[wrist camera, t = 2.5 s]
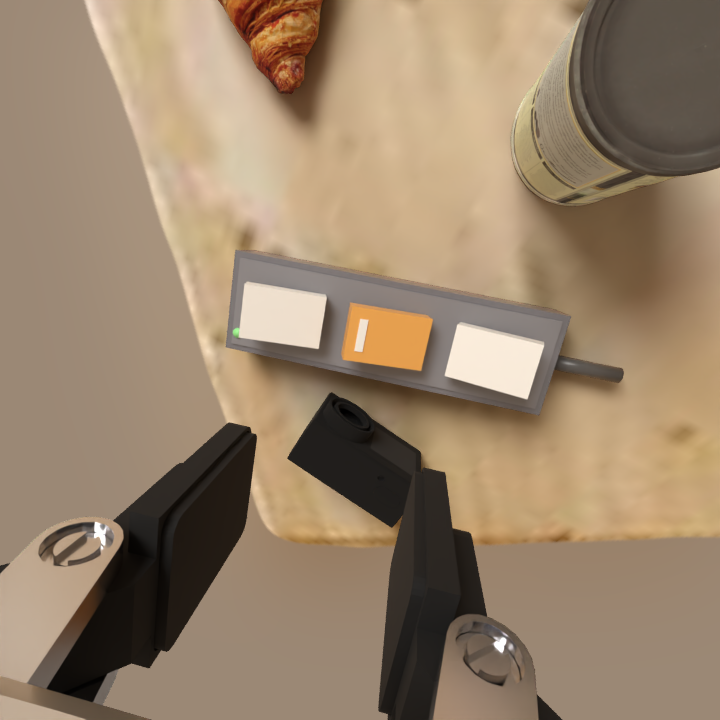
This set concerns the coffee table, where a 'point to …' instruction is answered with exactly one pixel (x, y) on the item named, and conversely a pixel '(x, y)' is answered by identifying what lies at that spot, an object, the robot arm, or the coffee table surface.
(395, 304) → the power strip
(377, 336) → the amber rocker
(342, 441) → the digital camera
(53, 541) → the robot arm
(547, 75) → the coffee can
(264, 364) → the coffee table surface
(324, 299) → the block
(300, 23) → the croissant
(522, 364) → the white rocker
